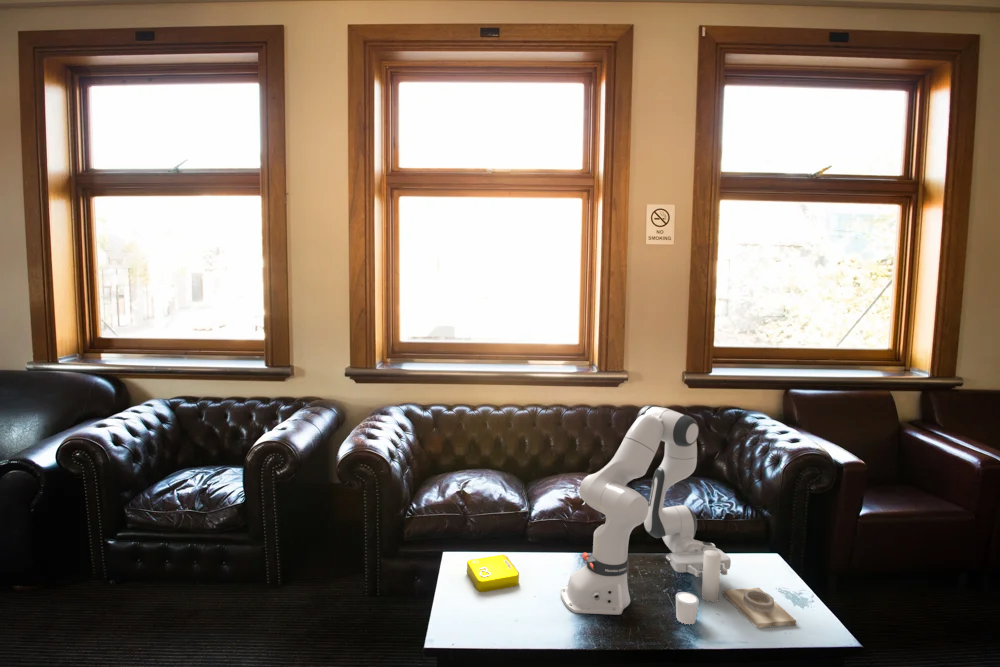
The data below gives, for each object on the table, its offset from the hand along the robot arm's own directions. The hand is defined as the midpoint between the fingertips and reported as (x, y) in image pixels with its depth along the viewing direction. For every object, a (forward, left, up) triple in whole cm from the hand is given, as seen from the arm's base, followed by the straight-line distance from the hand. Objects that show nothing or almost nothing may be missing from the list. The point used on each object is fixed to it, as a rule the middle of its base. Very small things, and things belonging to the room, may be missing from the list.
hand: (712, 573), depth 180 cm
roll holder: (+12, -8, -9) cm, 17 cm away
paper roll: (0, 0, -9) cm, 9 cm away
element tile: (-70, +21, -9) cm, 73 cm away
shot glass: (-14, -10, -9) cm, 19 cm away
